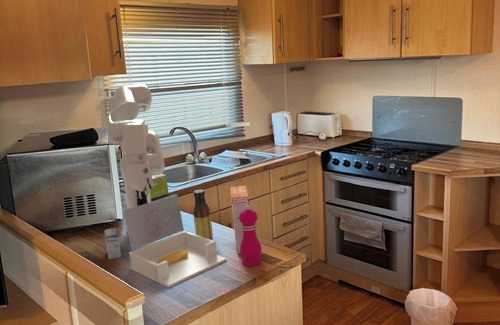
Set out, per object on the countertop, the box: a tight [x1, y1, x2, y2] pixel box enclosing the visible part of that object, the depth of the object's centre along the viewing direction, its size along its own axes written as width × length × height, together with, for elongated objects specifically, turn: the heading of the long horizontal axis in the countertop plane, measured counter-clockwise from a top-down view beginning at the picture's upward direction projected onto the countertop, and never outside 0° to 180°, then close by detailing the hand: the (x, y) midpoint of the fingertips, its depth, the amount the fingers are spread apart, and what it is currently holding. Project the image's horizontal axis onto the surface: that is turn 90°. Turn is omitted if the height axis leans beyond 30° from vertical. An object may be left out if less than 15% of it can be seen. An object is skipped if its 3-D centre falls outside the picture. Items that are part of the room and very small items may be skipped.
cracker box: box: [230, 185, 250, 255], centre depth 169 cm, size 14×6×21 cm, turn 4°
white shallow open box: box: [128, 230, 227, 288], centre depth 160 cm, size 22×24×6 cm
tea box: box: [150, 173, 170, 202], centre depth 230 cm, size 15×10×15 cm, turn 42°
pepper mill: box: [239, 204, 263, 267], centre depth 156 cm, size 7×7×20 cm
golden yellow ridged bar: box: [157, 250, 188, 265], centre depth 162 cm, size 4×11×2 cm, turn 135°
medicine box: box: [103, 227, 122, 260], centre depth 172 cm, size 8×4×9 cm, turn 21°
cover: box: [123, 193, 185, 251], centre depth 165 cm, size 14×22×1 cm
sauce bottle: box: [192, 189, 214, 241], centre depth 177 cm, size 7×6×20 cm
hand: (142, 208), depth 169 cm, fingers closed
